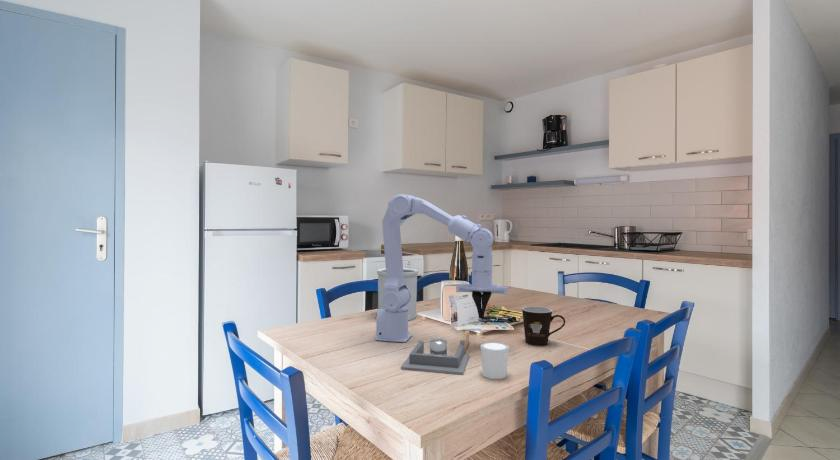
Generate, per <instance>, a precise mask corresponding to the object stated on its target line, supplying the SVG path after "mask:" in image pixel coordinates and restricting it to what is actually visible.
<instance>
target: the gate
mask: <svg viewBox="0 0 840 460" xmlns="http://www.w3.org/2000/svg"><path fill="white" fill-rule="evenodd" d="M459 343H460V344H462V345H464V353H465V352H466V350H467V348H468V345H469V343H470V330H469V329H467V330H465V331H464V333H463V335H462V338H461V339H460V340H459ZM460 344H459V345H460ZM465 354H466V353H465Z"/></svg>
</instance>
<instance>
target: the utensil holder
mask: <svg viewBox="0 0 840 460" xmlns="http://www.w3.org/2000/svg"><path fill="white" fill-rule="evenodd" d="M376 271H377V272H376V273H377V281H378V282H377V297H378V298H377V300H378V301H377V305H378V306H377V308H378V309H377V311H378V310H379V309H385V307H384V306H383V304H382V296H383V293H384V285H385V282H386V280H387V276H386V267H384V268H383V267H382V268H380V269H377V270H376ZM403 273H404V278H405V280H406V281H407V287H408V289H409V291H410V293H411V298H410V301H409V302H408V303H407V306H408V321H412V320H414V319H415V318H416V315H417V314H416V313H417V297H418V295H417V294H418V293H417V292H418V290H417V289H418V287H417V286H418V274H419V270H418V269H415V268H410V267H409V268H406V267H403Z"/></svg>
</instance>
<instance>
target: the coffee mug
mask: <svg viewBox="0 0 840 460" xmlns="http://www.w3.org/2000/svg"><path fill="white" fill-rule="evenodd" d="M521 311H522V319H523V330H524V339H525V340H524V341H525V344H527V345H529V346H534V347H544V346H547V345H548V342H549V337H550V336H551V335H552V334H554V333H557V332H558V331H561V329H562V328H564V327H565V325H566V319H565V317H564V316H562V315H560V314H555V315H553V316H552V314H553V309H552V308H549V307H544V306H537V305H535V306H534V305H533V306H524V307H522V308H521ZM555 318H561V320H563V321H562V322H563V323H562V325H560V327H558V328H556V329H554V330H552V331H551V332H550V329H551V323H552V321H553V320H554V319H555Z"/></svg>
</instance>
